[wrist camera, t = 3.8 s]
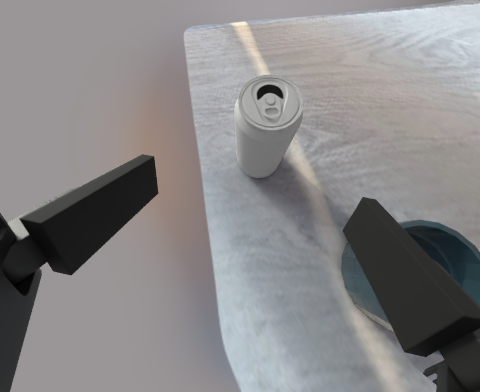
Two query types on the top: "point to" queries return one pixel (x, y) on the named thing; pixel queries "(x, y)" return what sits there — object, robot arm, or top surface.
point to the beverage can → (266, 123)
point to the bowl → (437, 247)
